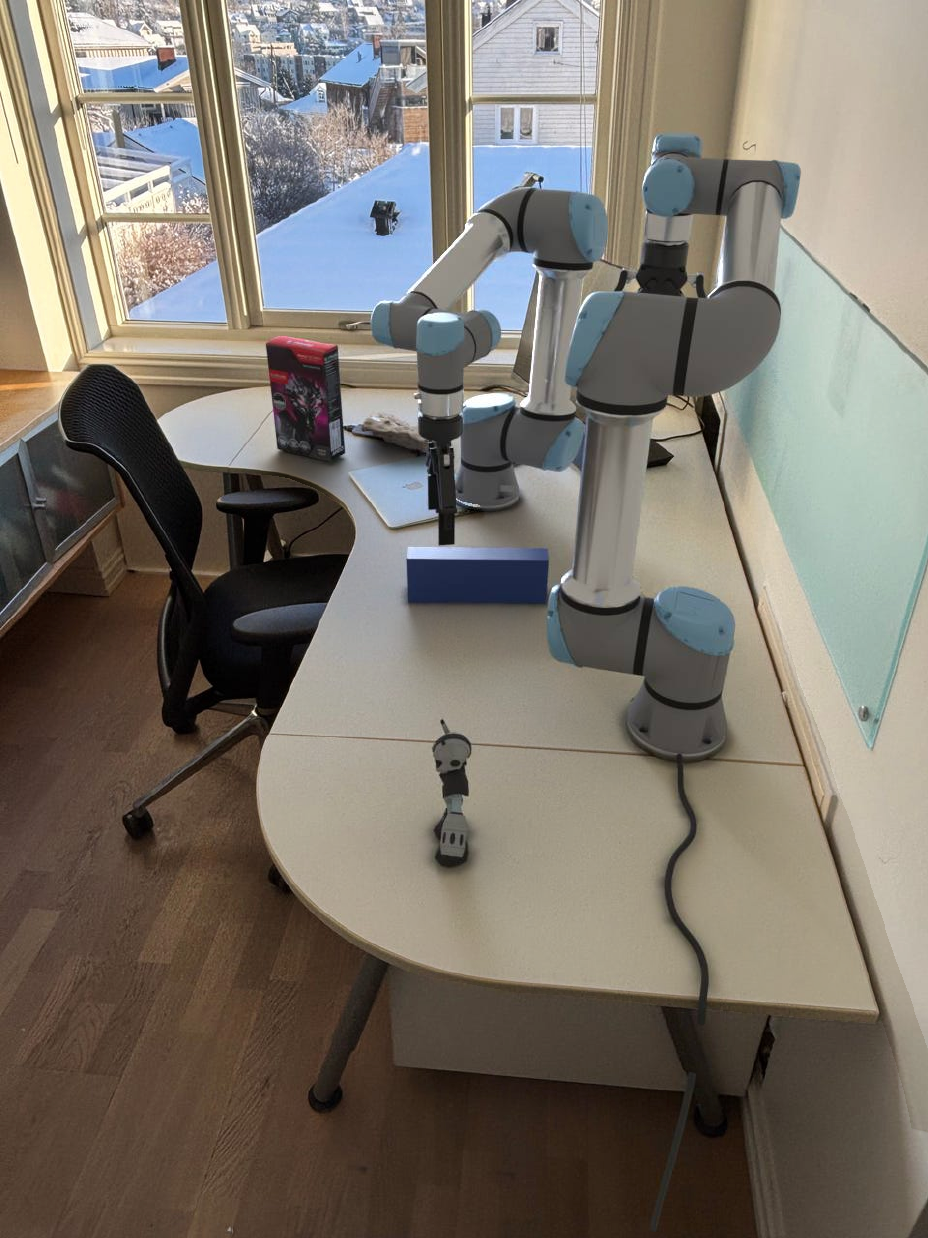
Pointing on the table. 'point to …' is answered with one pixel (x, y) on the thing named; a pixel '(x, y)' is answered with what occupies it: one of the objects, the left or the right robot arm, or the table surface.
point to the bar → (477, 575)
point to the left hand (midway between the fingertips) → (440, 525)
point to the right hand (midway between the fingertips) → (650, 368)
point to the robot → (452, 796)
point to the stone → (395, 431)
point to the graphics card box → (306, 397)
